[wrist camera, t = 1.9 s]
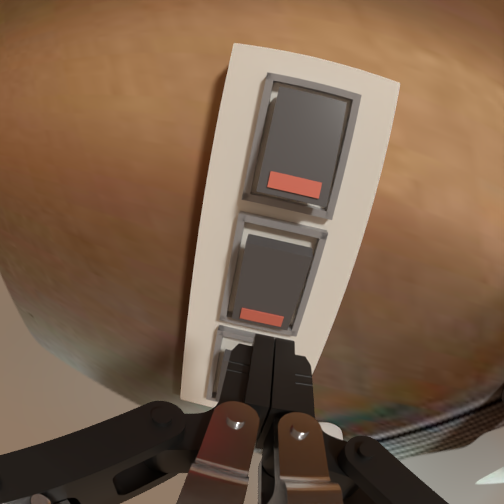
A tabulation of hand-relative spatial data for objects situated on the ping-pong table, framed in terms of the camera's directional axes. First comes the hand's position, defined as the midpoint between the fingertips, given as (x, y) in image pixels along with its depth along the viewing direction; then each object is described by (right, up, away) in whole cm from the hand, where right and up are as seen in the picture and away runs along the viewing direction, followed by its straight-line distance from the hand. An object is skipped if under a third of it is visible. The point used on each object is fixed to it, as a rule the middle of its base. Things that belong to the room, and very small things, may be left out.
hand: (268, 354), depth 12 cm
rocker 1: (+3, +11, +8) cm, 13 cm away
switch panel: (+1, +3, +16) cm, 16 cm away
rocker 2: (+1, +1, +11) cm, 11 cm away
